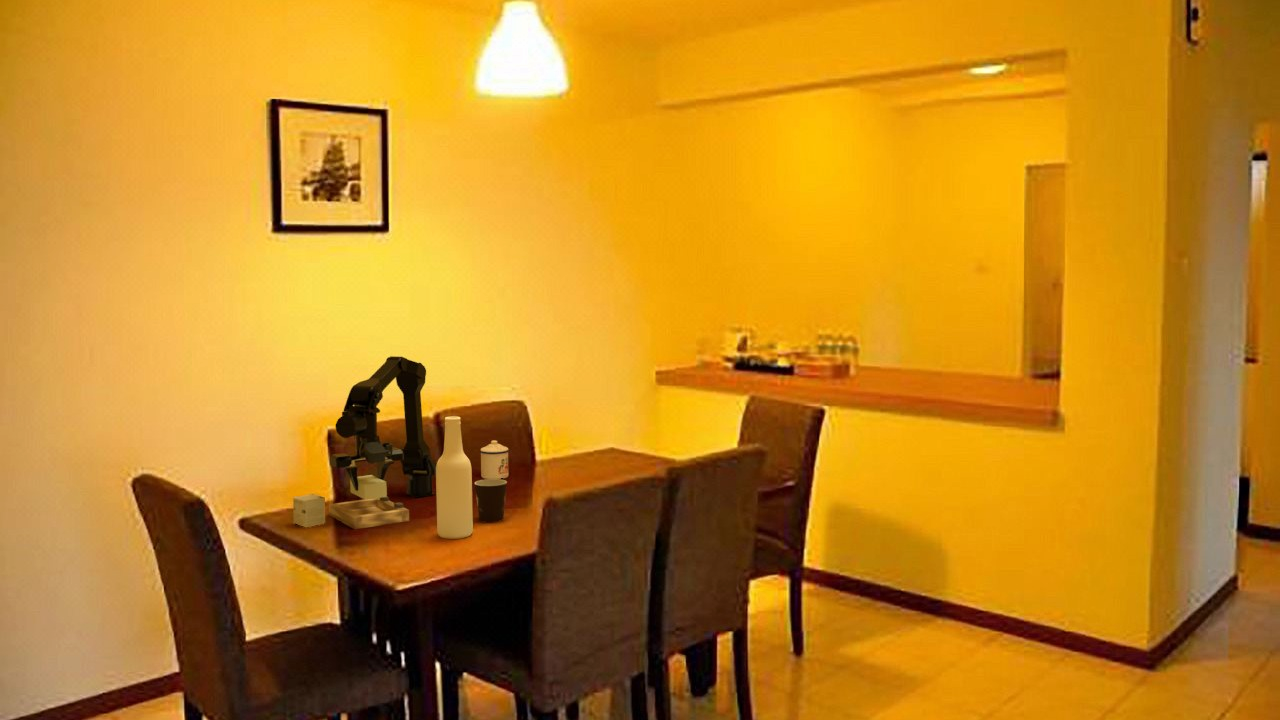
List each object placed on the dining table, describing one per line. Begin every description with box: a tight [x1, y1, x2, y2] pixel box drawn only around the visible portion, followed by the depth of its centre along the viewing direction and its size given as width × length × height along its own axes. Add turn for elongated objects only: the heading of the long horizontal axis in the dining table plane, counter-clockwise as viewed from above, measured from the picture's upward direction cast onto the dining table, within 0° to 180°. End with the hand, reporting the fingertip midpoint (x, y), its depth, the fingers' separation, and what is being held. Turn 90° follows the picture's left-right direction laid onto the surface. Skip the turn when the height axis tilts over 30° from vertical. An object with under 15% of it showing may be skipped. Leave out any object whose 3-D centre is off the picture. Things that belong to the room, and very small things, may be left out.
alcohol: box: [435, 415, 474, 540], centre depth 268 cm, size 9×9×30 cm
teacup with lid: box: [479, 439, 510, 480], centre depth 342 cm, size 12×9×12 cm
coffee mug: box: [473, 479, 508, 523], centre depth 286 cm, size 12×9×10 cm
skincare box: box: [292, 493, 326, 528], centre depth 281 cm, size 6×6×7 cm
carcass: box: [328, 496, 410, 530], centre depth 287 cm, size 15×19×4 cm
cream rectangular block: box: [349, 474, 388, 500], centre depth 287 cm, size 6×11×4 cm, turn 35°
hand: (368, 489), depth 287 cm, fingers closed on cream rectangular block, 6 cm apart
